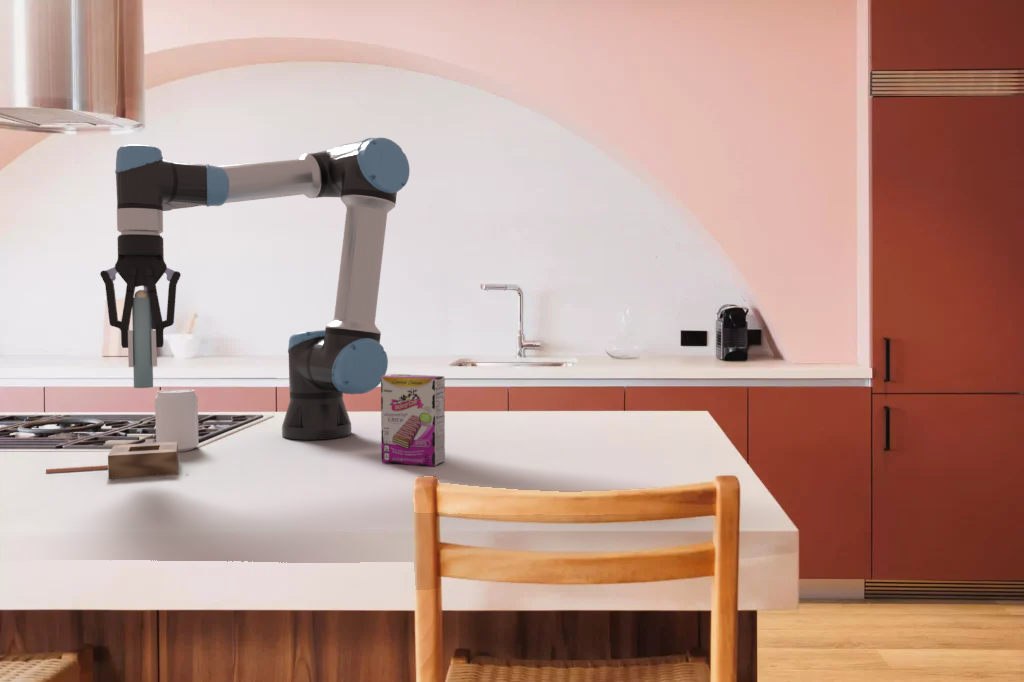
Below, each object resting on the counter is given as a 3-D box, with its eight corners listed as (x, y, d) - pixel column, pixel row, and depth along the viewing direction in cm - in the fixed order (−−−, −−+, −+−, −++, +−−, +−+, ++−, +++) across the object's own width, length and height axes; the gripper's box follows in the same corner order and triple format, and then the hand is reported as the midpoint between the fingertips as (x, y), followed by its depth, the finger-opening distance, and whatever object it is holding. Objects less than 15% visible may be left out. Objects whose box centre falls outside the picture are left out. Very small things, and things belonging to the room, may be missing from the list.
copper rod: (108, 468, 162) (107, 465, 162) (107, 469, 161) (107, 465, 161) (46, 472, 159) (46, 468, 159) (46, 473, 158) (45, 469, 158)
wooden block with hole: (178, 462, 167) (177, 441, 167) (176, 474, 156) (176, 451, 156) (114, 466, 163) (113, 445, 163) (108, 478, 153) (107, 455, 153)
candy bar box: (380, 463, 165) (379, 375, 164) (392, 458, 170) (391, 373, 169) (435, 467, 162) (434, 377, 161) (446, 462, 166) (445, 375, 165)
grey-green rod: (153, 385, 161) (151, 289, 160) (152, 387, 158) (150, 289, 157) (134, 386, 160) (132, 289, 159) (133, 388, 157) (131, 289, 156)
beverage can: (184, 453, 176) (182, 393, 176) (147, 452, 178) (146, 392, 177) (206, 446, 184) (204, 388, 184) (171, 445, 186) (169, 388, 185)
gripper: (189, 236, 164) (191, 363, 165) (92, 234, 158) (95, 365, 160) (188, 234, 157) (191, 366, 158) (87, 231, 151) (90, 369, 153)
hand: (143, 365), depth 159 cm, fingers closed on grey-green rod, 3 cm apart
